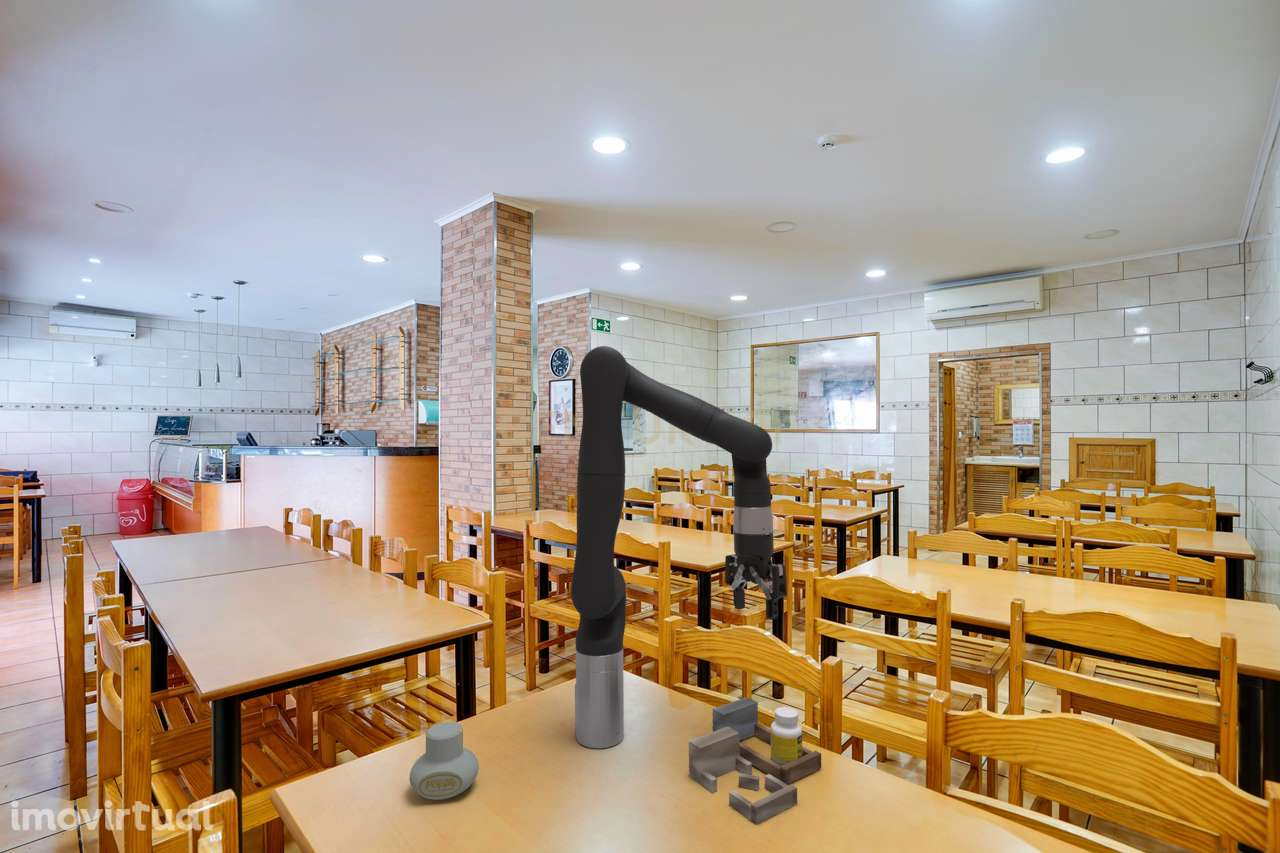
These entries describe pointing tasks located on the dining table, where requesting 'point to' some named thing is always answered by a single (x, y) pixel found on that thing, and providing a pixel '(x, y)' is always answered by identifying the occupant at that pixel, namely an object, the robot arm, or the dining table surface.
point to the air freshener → (444, 764)
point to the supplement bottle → (786, 736)
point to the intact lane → (746, 723)
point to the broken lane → (723, 756)
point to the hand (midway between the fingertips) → (755, 613)
